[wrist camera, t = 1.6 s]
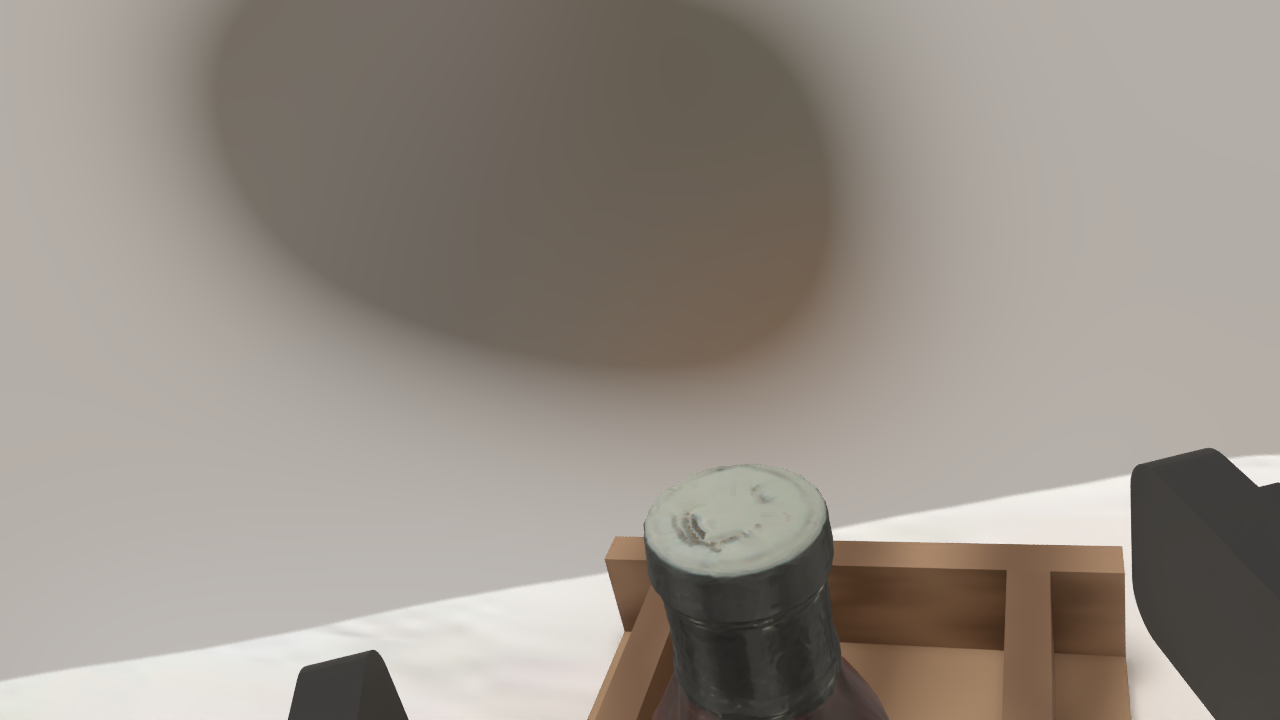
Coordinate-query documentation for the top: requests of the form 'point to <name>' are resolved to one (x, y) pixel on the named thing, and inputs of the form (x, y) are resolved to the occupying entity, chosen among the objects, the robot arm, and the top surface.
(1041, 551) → the rack
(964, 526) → the top surface
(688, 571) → the sauce bottle
